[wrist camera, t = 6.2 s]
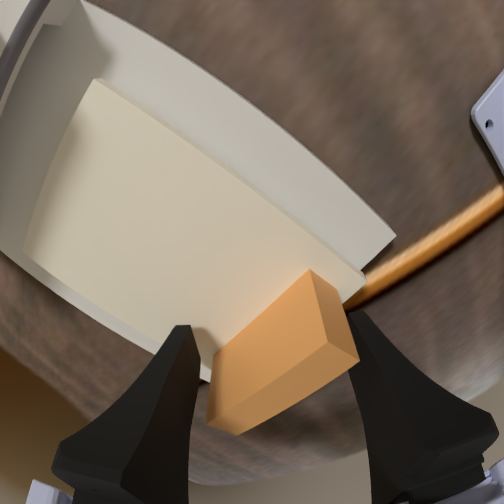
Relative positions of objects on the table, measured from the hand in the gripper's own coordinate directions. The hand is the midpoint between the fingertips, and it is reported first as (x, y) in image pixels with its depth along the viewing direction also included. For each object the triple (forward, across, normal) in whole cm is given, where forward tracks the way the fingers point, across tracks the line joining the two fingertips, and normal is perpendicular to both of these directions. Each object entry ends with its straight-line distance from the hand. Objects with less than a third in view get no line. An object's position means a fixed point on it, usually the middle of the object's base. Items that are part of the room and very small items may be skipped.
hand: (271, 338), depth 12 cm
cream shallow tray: (+1, +3, -3) cm, 5 cm away
